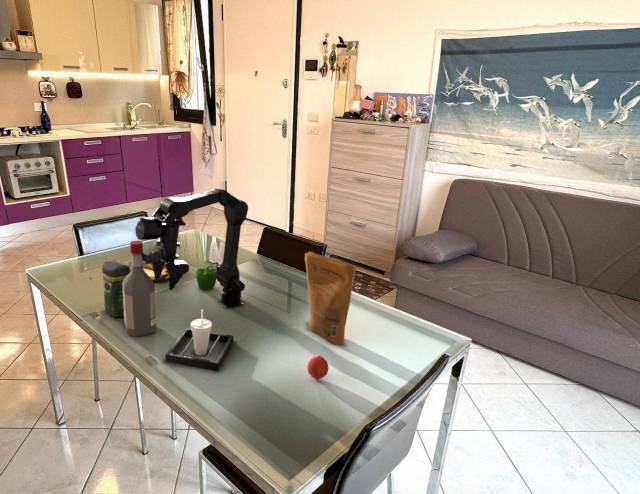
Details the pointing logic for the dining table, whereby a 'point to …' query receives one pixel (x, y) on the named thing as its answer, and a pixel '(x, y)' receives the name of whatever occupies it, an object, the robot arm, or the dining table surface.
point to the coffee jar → (114, 286)
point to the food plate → (149, 270)
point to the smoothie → (201, 334)
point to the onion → (317, 367)
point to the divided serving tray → (198, 362)
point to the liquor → (138, 296)
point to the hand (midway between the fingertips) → (163, 284)
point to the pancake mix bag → (328, 295)
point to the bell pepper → (206, 278)
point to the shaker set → (216, 253)
